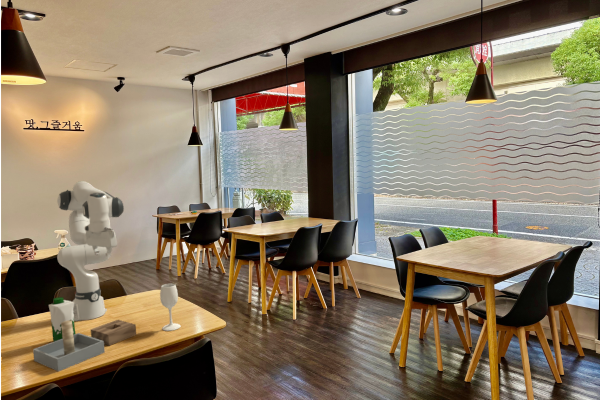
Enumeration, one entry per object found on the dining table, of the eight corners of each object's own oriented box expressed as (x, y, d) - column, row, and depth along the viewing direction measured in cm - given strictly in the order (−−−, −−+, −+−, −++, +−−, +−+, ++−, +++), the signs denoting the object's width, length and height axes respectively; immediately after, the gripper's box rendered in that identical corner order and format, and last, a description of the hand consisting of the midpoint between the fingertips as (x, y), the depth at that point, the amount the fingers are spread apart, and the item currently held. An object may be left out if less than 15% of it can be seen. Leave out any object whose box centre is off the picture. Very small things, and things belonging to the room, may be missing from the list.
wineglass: (158, 328, 215) (155, 286, 213) (174, 323, 221) (171, 282, 219) (168, 332, 209) (164, 289, 207) (184, 326, 215) (181, 284, 214)
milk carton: (68, 336, 210) (64, 295, 209) (79, 339, 206) (75, 297, 204) (50, 343, 203) (45, 300, 201) (61, 346, 198) (56, 303, 196)
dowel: (62, 356, 185) (59, 323, 184) (68, 352, 189) (65, 320, 188) (70, 356, 185) (67, 323, 184) (77, 352, 189) (74, 320, 187)
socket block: (91, 339, 204) (90, 329, 204) (118, 329, 216) (117, 319, 216) (109, 345, 197) (108, 334, 196) (136, 334, 208) (135, 324, 208)
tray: (34, 360, 185) (32, 349, 184) (79, 343, 201) (78, 332, 200) (58, 371, 174) (57, 359, 173) (104, 352, 190) (103, 341, 189)
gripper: (119, 227, 207) (121, 256, 209) (94, 225, 219) (97, 252, 220) (106, 229, 202) (109, 258, 203) (82, 227, 214) (84, 255, 215)
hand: (102, 255), depth 212 cm, fingers open, 8 cm apart
